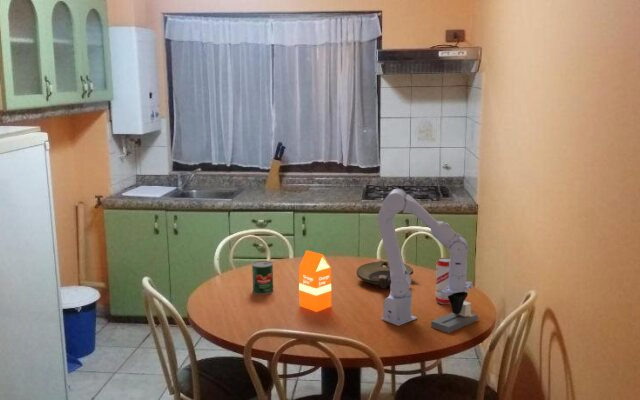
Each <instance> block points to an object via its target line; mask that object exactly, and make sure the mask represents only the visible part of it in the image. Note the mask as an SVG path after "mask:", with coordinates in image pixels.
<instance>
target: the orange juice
mask: <svg viewBox="0 0 640 400" xmlns="http://www.w3.org/2000/svg"><path fill="white" fill-rule="evenodd" d="M298 281H299V283H298V293H299V307H302V308H304V309H307V310H311V311H313V312H315V313H317V312H320V311H322V310H326V309H328V308H331V307H332V267H331V266H330V264H329V262H328V261H327V259H326V258H325V256H324V254H322V253H318V252H315V251H312V250H305V253H304V254H303V257H302V259H301V262H300V264H299V266H298Z"/></svg>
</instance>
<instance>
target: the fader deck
mask: <svg viewBox="0 0 640 400" xmlns="http://www.w3.org/2000/svg"><path fill="white" fill-rule="evenodd" d="M478 319H479V315H478V314H477V313H474V312H471V314H470V315H468V316H466V317H465V316H462V315H458V314H455V313H453V311H452V312H450V313H448V314H445V315H443V316H440V317H438V318H436V319H432V320H431V322H430V325H431V326H430V327H431V328H433V329H436V330H439V331H441V332H444V333H447V334H450V333H452V332H454V331H456V330H460V329H461V328H463V327H465V326H468V325H469V324H473V323H475V322H476V321H478Z"/></svg>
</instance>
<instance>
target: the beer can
mask: <svg viewBox="0 0 640 400" xmlns="http://www.w3.org/2000/svg"><path fill="white" fill-rule="evenodd" d="M449 260H450V257H439V258H438V260H437V262H436V265H435V266H436V271H435V272H436V273H435V274H436V275H435V301H436V302H437V303H438V304H441V305H451V303H450V301H449V299H448V297H447V298H444V297H441V291H443V290H444V289H445V288H446V287H447V286H448V285H449Z"/></svg>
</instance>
